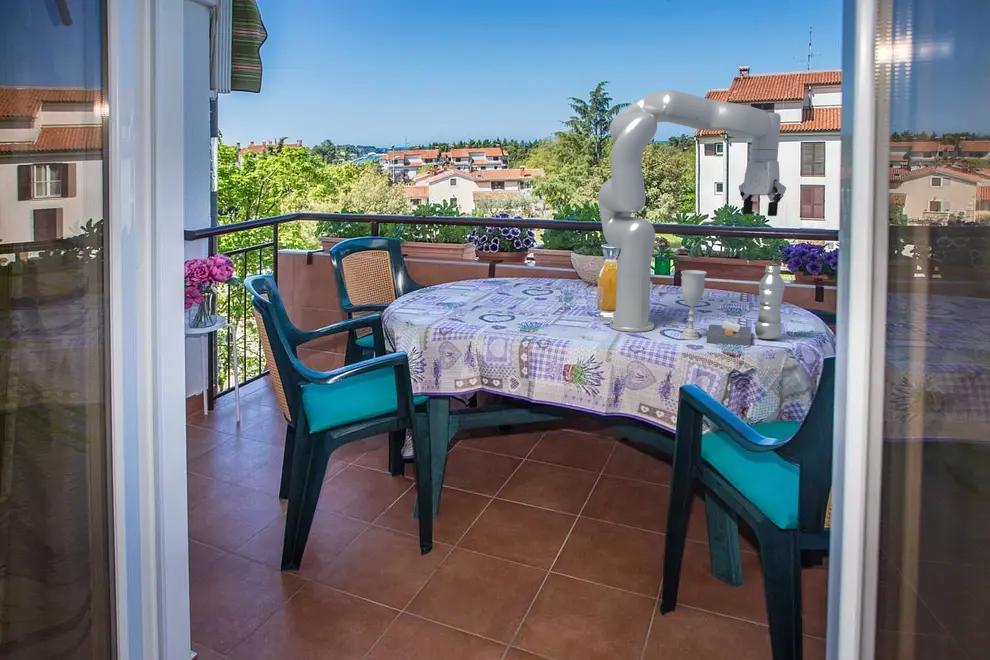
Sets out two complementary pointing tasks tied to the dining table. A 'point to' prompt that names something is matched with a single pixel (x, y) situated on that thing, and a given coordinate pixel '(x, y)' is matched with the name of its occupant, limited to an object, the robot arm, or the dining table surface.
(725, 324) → the block
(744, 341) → the panel
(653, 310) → the dining table surface
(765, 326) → the plastic bottle
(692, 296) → the chalice
